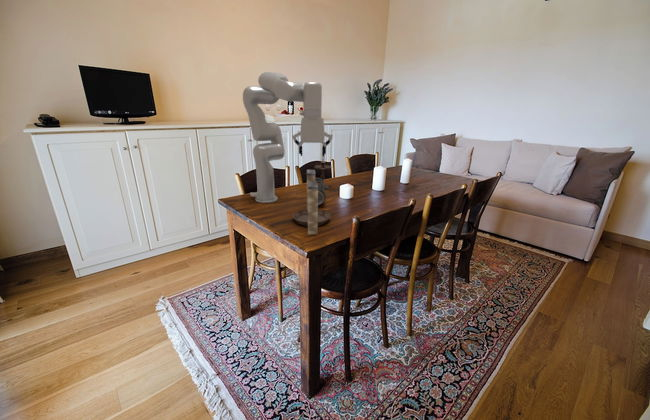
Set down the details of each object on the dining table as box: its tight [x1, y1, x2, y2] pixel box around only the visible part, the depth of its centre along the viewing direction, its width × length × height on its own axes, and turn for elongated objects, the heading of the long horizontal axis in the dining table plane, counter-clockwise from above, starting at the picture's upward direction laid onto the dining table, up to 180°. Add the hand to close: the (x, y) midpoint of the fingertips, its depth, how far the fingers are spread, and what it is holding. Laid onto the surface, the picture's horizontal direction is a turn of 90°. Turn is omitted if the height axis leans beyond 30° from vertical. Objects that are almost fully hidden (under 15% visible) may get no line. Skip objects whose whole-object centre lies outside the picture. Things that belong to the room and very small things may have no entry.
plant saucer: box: [292, 208, 331, 227], centre depth 134 cm, size 18×18×3 cm
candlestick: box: [314, 135, 332, 191], centre depth 181 cm, size 11×11×35 cm
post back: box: [306, 169, 317, 209], centre depth 142 cm, size 4×8×21 cm, turn 4°
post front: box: [307, 182, 319, 236], centre depth 120 cm, size 4×8×21 cm, turn 4°
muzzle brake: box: [315, 176, 326, 206], centre depth 162 cm, size 10×28×10 cm, turn 1°
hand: (312, 155), depth 123 cm, fingers open, 9 cm apart
